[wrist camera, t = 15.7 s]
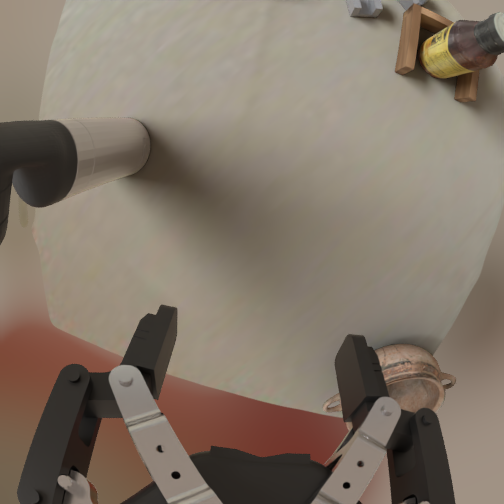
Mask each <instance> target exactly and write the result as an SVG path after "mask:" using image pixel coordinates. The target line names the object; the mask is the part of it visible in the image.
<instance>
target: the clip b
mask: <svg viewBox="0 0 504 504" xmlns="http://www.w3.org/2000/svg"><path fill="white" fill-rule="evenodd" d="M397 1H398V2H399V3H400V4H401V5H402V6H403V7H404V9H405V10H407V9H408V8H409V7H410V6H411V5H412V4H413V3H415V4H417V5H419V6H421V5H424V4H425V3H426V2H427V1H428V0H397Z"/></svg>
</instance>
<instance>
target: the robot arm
mask: <svg viewBox="0 0 504 504" xmlns="http://www.w3.org/2000/svg"><path fill="white" fill-rule="evenodd" d="M149 153H150V138H149V135H148V132H147V130H146V128H145V127H144V126H143V125H142V124H141V123H140V122H139V121H137V120H135V119H132V118H73V119H58V120H44V121H13V122H4V123H0V244H1V243H2V241H3V239H4V237H5V234H6V230H7V223H8V214H9V204H10V194H11V186H12V183H13V186H14V188H15V190H16V192H17V194H18V195H19V196H20V198H21V199H22V200H23V201H24V202H26V203H27V204H29V205H30V206H33V207H46V206H49V205H52V204H54V203H56V202H59V201H61V200H64V199H66V198H69V197H71V196H74V195H76V194H79V193H81V192H84V191H86V190H89V189H92V188H94V187H97V186H100V185H103V184H105V183H108V182H111V181H114V180H117V179H120V178H123V177H126V176H129V175H132V174H134V173H136V172H138V171H139V170H140V169H141V168H142V167H143V166H144V164H145V163H146V161H147V159H148V157H149ZM176 336H177V308H175V307H171V306H166V305H161V306H160V307H159V310H158V312H157V314H156V315H153V314H149V313H148V314H147V315H146V316H145V317H143V318H142V319H141V320H140V322H139V324H138V327H137V329H136V331H135V333H134V335H133V338H132V340H131V342H130V344H129V347H128V349H127V351H126V354H125V356H124V358H123V361H122V363H121V364H120V365H119V366H117V367H116V368H114V369H113V370H112V371H110V372H105V373H90V372H88V370H87V369H86V368H85V367H84V366H82V365H79V364H71V365H68V366H66V367H64V368H63V369H62V370H61V372H60V374H59V376H58V378H57V380H56V383H55V385H54V387H53V390H52V392H51V394H50V397H49V399H48V402H47V404H46V406H45V409H44V412H43V414H42V417H41V419H40V422H39V424H38V427H37V430H36V433H35V435H34V438H33V441H32V444H31V447H30V450H29V453H28V456H27V459H26V462H25V465H24V469H23V472H22V475H21V479H20V482H19V486H18V491H17V494H18V499H19V502H20V503H21V504H98V493H97V490H96V488H95V486H94V485H93V484H92V483H91V482H90V481H89V480H87V479H86V477H87V472H88V468H89V464H90V460H91V456H92V452H93V449H94V444H95V441H96V437H97V434H98V430H99V427H100V423H101V420H102V418H123V420H124V422H125V425H126V427H127V429H128V431H129V434H130V436H131V438H132V440H133V442H134V444H135V446H136V448H137V450H138V453H139V455H140V457H141V459H142V461H143V463H144V464H145V466H146V468H147V470H148V472H149V474H150V476H151V477H152V479H153V482H151V483H150V484H149V485H147V486H146V487H144V488H143V489H141V490H140V491H139V492H137V493H136V494H134V495H133V496H131V497H130V498H128V499H127V500H125V501H124V502H122V503H121V504H362V503H361V502H360V501H359V498H360V497H361V495H362V494H363V492H364V491H365V489H366V488H367V485H368V484H369V483H370V481H371V479H372V478H373V476H374V474H375V472H376V471H377V469H378V467H379V465H380V463H381V462H382V460H383V458H384V456H385V454H386V452H387V458H388V467H389V476H390V487H391V499H392V504H455V498H454V492H453V485H452V480H451V474H450V469H449V464H448V459H447V454H446V449H445V445H444V440H443V437H442V432H441V428H440V424H439V420H438V417H437V415H436V414H435V412H434V411H432V410H431V409H429V408H421V409H419V410H418V411H417V412H416V413H414V412H410V411H407V410H403V409H400V406H399V404H398V403H397V402H396V401H395V400H394V399H392V398H390V397H389V393H388V389H387V386H386V382H385V379H384V375H383V372H382V368H381V365H380V362H379V358H378V355H377V354H376V352H375V351H374V350H373V348H372V347H367V343H366V340H365V337H364V336H362V335H352V334H349V335H347V337H346V338H345V340H344V342H343V344H342V346H341V348H340V349H339V351H338V353H337V355H336V359H335V369H336V375H337V381H338V387H339V393H340V400H341V406H342V413H343V420H344V422H352V426H353V427H352V428H351V429H350V430H349V432H348V434H347V435H346V436H345V438H344V439H343V441H342V442H341V444H340V445H339V447H338V448H337V450H336V451H335V452H334V454H333V455H332V456H331V457H330V459H329V460H328V461H327V462H326V463H325V464H324V465H322V464H320V463H318V462H316V461H313V460H310V454H290V453H289V454H288V453H287V454H281V455H275V456H269V457H258V456H255V455H252V454H249V453H246V452H243V451H240V450H237V449H230V448H223V447H216V446H211V450H210V451H204V452H199V453H195V454H192V455H190V456H188V454H187V453H186V451H185V450H184V448H183V446H182V445H181V443H180V441H179V440H178V438H177V436H176V434H175V433H174V431H173V429H172V428H171V426H170V424H169V422H168V420H167V419H166V417H165V416H164V414H163V413H161V412H160V410H159V408H158V407H157V405H156V403H155V401H154V399H157V400H158V398H159V395H160V392H161V388H162V385H163V381H164V378H165V374H166V371H167V368H168V364H169V361H170V358H171V355H172V351H173V348H174V345H175V341H176Z"/></svg>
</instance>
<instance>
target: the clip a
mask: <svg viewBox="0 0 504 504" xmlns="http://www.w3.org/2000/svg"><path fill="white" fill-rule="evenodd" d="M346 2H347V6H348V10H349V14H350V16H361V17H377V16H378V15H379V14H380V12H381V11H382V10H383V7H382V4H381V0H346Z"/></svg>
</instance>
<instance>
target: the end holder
mask: <svg viewBox="0 0 504 504" xmlns="http://www.w3.org/2000/svg"><path fill="white" fill-rule="evenodd" d="M451 24H453V22H452V21H450V20H448V19H446V18H444V17H442V16H440V15H438V14H436V13H434V12H432V11H430V10H428V9H426V8H424V7H421V6H419V5H417V4H415V3H413V4H412V5H411V6H410V7H409V8H408V9H407V10H406V11H405V12H404V14H403V23H402V30H401V37H400V44H399V50H398V56H397V62H396V68H395V72H396V73H399V74H401V75H403V74H406V73H408V72H410V71H412V70H414V66H415V60H416V53H417V46H418V38H419V30H420V27H422V28H424V29H426V30H428V31H430V32H433V33H435V34H437V33H438V32H440V31H441V30H443V29H445V28H446V27H448V26H450V25H451ZM478 79H479V70H478V71H474V72H469V73H465V74H461V75H458V77H457V84H456V91H455V97H454V99H455V100H457V101H459V102H469V101H476V94H477V87H478Z"/></svg>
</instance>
